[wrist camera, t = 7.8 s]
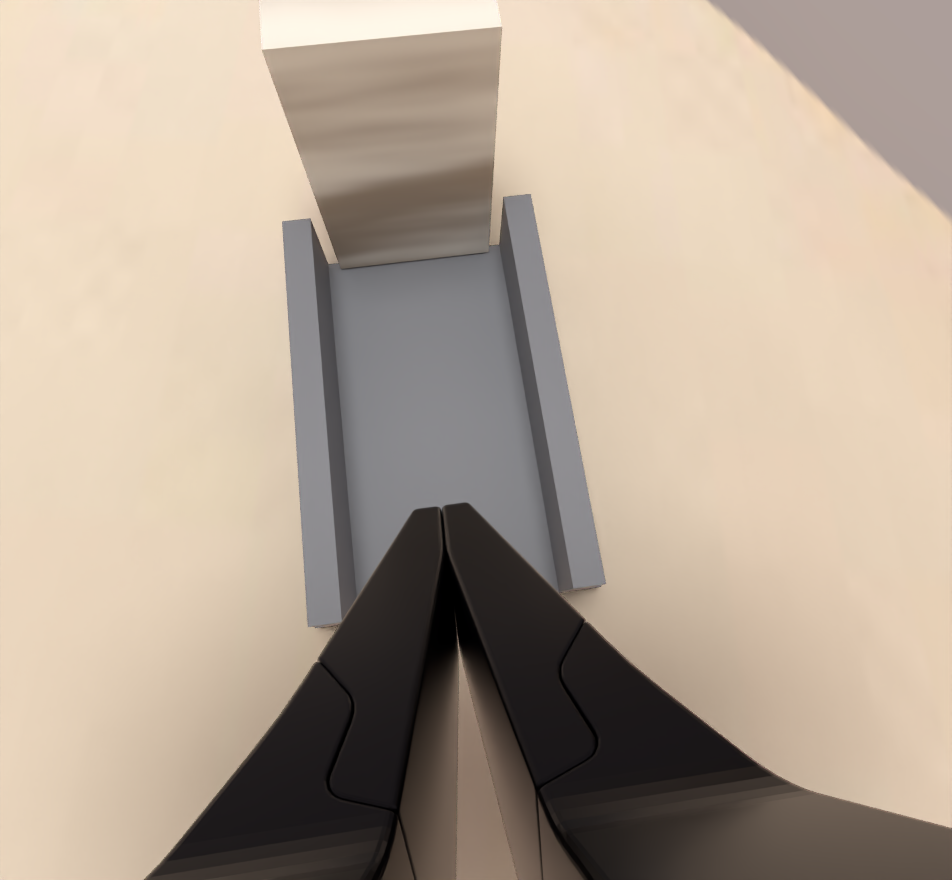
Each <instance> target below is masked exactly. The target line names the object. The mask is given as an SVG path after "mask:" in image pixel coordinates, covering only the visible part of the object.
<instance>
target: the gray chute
mask: <svg viewBox="0 0 952 880" xmlns="http://www.w3.org/2000/svg"><path fill="white" fill-rule="evenodd" d="M282 227H283V242H284V258H285V274H286V290H287V305H288V321H289V337H290V353H291V368H292V384H293V400H294V416H295V431H296V447H297V463H298V478H299V494H300V510H301V526H302V541H303V557H304V573H305V589H306V604H307V620H308V627H315V628H321V627H328V626H335V625H340V623H341V621H342V620H343V618H344V617H345V615H346V614H347V612H348V611H349V609H350V608H351V606H352V604H353V603H354V601H355V600H356V598H357V597H358V595H359V594H360V592H361V590H362V589H363V587H364V586H365V584H366V583H367V581H368V580H369V578H370V576H371V575H372V573H373V572H374V570H375V569H376V567H377V566H378V564H379V562H380V561H381V559H382V558H383V556H384V555H385V553H386V552H387V550H388V548H389V547H390V545H391V544H392V542H393V541H394V539H395V538H396V536H397V534H398V533H399V531H400V530H401V528H402V527H403V525H404V524H405V522H406V521H407V519H408V517H409V516H410V514H411V513H412V511H413V510H415V509H419V508H427V507H434V506H438V507H440V508H441V511H442V508H443V506H444V505H449V504H456V503H463V502H467V503H470V504H471V505H472V506H473V507H474V508H475V509H476V510H477V511H478V512H479V513H480V514H481V515H482V516H483V517H484V518H485V519H486V520H487V521H488V522H489V523H490V524H491V525H492V526H493V527H494V528H495V529H496V530H497V531H498V532H499V533H500V534H501V535H502V536H503V537H504V538H505V539H506V540H507V541H508V542H509V543H510V544H511V545H512V546H513V547H514V548H515V549H516V550H517V551H518V552H519V553H520V554H521V555H522V556H523V557H524V558H525V559H526V560H527V561H528V562H529V563H530V564H531V565H532V566H533V567H534V568H535V569H536V570H537V571H538V572H539V573H540V574H541V575H542V576H543V577H544V578H545V579H546V580H547V581H548V582H549V583H550V584H551V585H552V586H553V587H554V588H555V589H556V590H557V591H558V592H559V593H562V592H569V591H576V590H582V589H589V588H596V587H601V585H603V584H606V582H605V576H604V571H603V566H602V561H601V556H600V551H599V545H598V540H597V535H596V530H595V525H594V520H593V514H592V509H591V504H590V499H589V494H588V488H587V483H586V478H585V473H584V468H583V463H582V457H581V452H580V447H579V442H578V437H577V432H576V426H575V421H574V416H573V411H572V406H571V401H570V395H569V390H568V385H567V380H566V375H565V369H564V364H563V359H562V354H561V349H560V344H559V338H558V333H557V328H556V323H555V318H554V313H553V307H552V302H551V297H550V292H549V287H548V282H547V276H546V271H545V266H544V261H543V256H542V250H541V245H540V240H539V235H538V230H537V225H536V219H535V214H534V209H533V204H532V199H531V194H526V195H517V196H508V197H503V208H502V220H501V231H500V243H499V245H493V246H489V252H484V253H475V254H467V255H458V256H449V257H441V258H432V259H423V260H415V261H406V262H397V263H389V264H380V265H371V266H363V267H354V268H345V269H341V268H340V265H339V263H336V264H328V262H327V260H326V257H325V255H324V252H323V250H322V247H321V245H320V242H319V239H318V237H317V234H316V232H315V229H314V227H313V224H312V222H311V219H301V220H292V221H283V222H282Z"/></svg>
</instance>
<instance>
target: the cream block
mask: <svg viewBox="0 0 952 880" xmlns="http://www.w3.org/2000/svg"><path fill="white" fill-rule="evenodd" d="M259 11H260V28H261V45H262V52H263V55H264V57H265V60H266V63H267V66H268V68H269V71H270V74H271V77H272V79H273V82H274V85H275V88H276V91H277V93H278V96H279V99H280V102H281V104H282V107H283V110H284V113H285V116H286V118H287V121H288V124H289V127H290V129H291V132H292V135H293V138H294V140H295V143H296V146H297V149H298V152H299V154H300V157H301V160H302V163H303V165H304V168H305V171H306V174H307V177H308V179H309V182H310V185H311V188H312V190H313V193H314V196H315V199H316V201H317V204H318V207H319V210H320V213H321V215H322V218H323V221H324V224H325V226H326V229H327V232H328V235H329V238H330V240H331V243H332V246H333V249H334V251H335V254H336V257H337V260H338V262H339V265H340V268H341V269H345V268H354V267H363V266H371V265H380V264H389V263H397V262H406V261H415V260H423V259H432V258H441V257H449V256H458V255H467V254H475V253H484V252H489V236H490V219H491V203H492V186H493V169H494V152H495V136H496V119H497V102H498V85H499V68H500V52H501V35H502V24H501V19H500V14H499V9H498V4H497V0H259Z"/></svg>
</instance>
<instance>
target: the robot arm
mask: <svg viewBox="0 0 952 880" xmlns="http://www.w3.org/2000/svg"><path fill="white" fill-rule="evenodd" d="M456 627H457V628H456ZM457 634H458V637H457ZM458 640H459V647H460V653H461V657H462V662H463V666H464V670H465V674H466V678H467V682H468V686H469V690H470V694H471V698H472V701H473V705H474V709H475V713H476V717H477V721H478V725H479V729H480V733H481V737H482V741H483V745H484V748H485V752H486V756H487V760H488V764H489V768H490V772H491V776H492V780H493V784H494V788H495V792H496V795H497V799H498V803H499V807H500V811H501V815H502V819H503V823H504V827H505V831H506V835H507V839H508V843H509V846H510V850H511V854H512V858H513V862H514V866H515V870H516V874H517V878H518V880H952V828H949V827H945V826H942V825H938V824H934V823H930V822H926V821H923V820H919V819H915V818H911V817H907V816H903V815H900V814H896V813H892V812H888V811H884V810H880V809H877V808H873V807H869V806H865V805H861V804H858V803H854V802H850V801H846V800H842V799H839V798H835V797H831V796H827V795H823V794H820V793H816V792H813V791H810V790H807V789H804V788H802V787H800V786H797V785H795V784H793V783H791V782H789V781H787V780H785V779H783V778H781V777H779V776H778V775H776V774H774V773H773V772H771V771H770V770H768V769H766V768H765V767H763V766H762V765H760V764H759V763H757V762H756V761H755V760H753V759H752V758H751V757H749V756H748V755H746V754H745V753H744V752H743V751H741V750H740V749H739V748H737V747H736V746H735V745H734V744H732V743H731V742H730V741H729V740H727V739H726V738H725V737H723V736H722V735H721V734H720V733H718V732H717V731H716V730H714V729H713V728H712V727H711V726H709V725H708V724H707V723H705V722H704V721H703V720H702V719H700V718H699V717H698V716H697V715H695V714H694V713H693V712H691V711H690V710H689V709H688V708H686V707H685V706H684V705H682V704H681V703H680V702H679V701H677V700H676V699H675V698H673V697H672V696H671V695H670V694H668V693H667V692H666V691H665V690H663V689H662V688H661V687H660V686H658V685H657V684H656V683H655V682H653V681H652V680H651V679H650V678H649V677H647V676H646V675H645V674H644V673H643V672H641V671H640V670H639V669H638V668H637V667H635V666H634V665H633V664H632V663H630V662H629V661H628V660H627V659H626V658H625V657H624V656H623V655H622V654H621V653H620V652H619V651H618V650H617V649H616V648H614V647H613V646H612V645H611V644H610V643H609V642H608V641H607V640H606V639H605V638H604V637H603V636H602V635H601V634H600V633H599V632H598V631H597V630H596V629H595V628H594V627H593V626H592V625H591V624H590V623H588V622H586V620H585V618H584V617H583V616H582V615H581V614H580V613H579V612H578V611H577V610H576V609H575V608H574V607H573V606H572V605H571V604H570V603H569V602H568V601H567V600H566V599H565V598H564V597H563V596H562V595H561V594H560V593H559V592H558V591H557V590H556V589H555V588H554V587H553V586H552V585H551V584H550V583H549V582H548V581H547V580H546V579H545V578H544V577H543V576H542V575H541V574H540V573H539V572H538V571H537V570H536V569H535V568H534V567H533V566H532V565H531V564H530V563H529V562H528V561H527V560H526V559H525V558H524V557H523V556H522V555H521V554H520V553H519V552H518V551H517V550H516V549H515V548H514V547H513V546H512V545H511V544H510V543H509V542H508V541H507V540H506V539H505V538H504V537H503V536H502V535H501V534H500V533H499V532H498V531H497V530H496V529H495V528H494V527H493V526H492V525H491V524H490V523H489V522H488V521H487V520H486V519H485V518H484V517H483V516H482V515H481V514H480V513H479V512H478V511H477V510H476V509H475V508H474V507H473V506H472V505H471V504H470V503H467V502H463V503H456V504H449V505H444V506H443V508H442V511H441V508H440V507H438V506H434V507H427V508H419V509H415V510H413V511H412V513H411V514H410V516H409V517H408V519H407V521H406V522H405V524H404V525H403V527H402V528H401V530H400V531H399V533H398V534H397V536H396V538H395V539H394V541H393V542H392V544H391V545H390V547H389V548H388V550H387V552H386V553H385V555H384V556H383V558H382V559H381V561H380V562H379V564H378V566H377V567H376V569H375V570H374V572H373V573H372V575H371V576H370V578H369V580H368V581H367V583H366V584H365V586H364V587H363V589H362V590H361V592H360V594H359V595H358V597H357V598H356V600H355V601H354V603H353V604H352V606H351V608H350V609H349V611H348V612H347V614H346V615H345V617H344V618H343V620H342V621H341V623H340V625H339V626H338V628H337V629H336V631H335V632H334V634H333V635H332V637H331V639H330V640H329V642H328V643H327V645H326V646H325V648H324V649H323V651H322V653H321V654H320V656H319V657H318V662H315V663H314V664H313V666H312V668H311V669H310V671H309V672H308V674H307V675H306V677H305V679H304V680H303V682H302V683H301V685H300V686H299V688H298V689H297V690H296V692H295V693H294V695H293V696H292V698H291V699H290V701H289V702H288V704H287V705H286V706H285V708H284V709H283V711H282V712H281V714H280V715H279V716H278V718H277V719H276V720H275V722H274V723H273V724H272V726H271V727H270V728H269V729H268V731H267V732H266V733H265V735H264V736H263V737H262V739H261V740H260V741H259V742H258V744H257V745H256V746H255V748H254V749H253V750H252V752H251V753H250V754H249V755H248V756H247V758H246V759H245V760H244V761H243V763H242V764H241V765H240V766H239V768H238V769H237V770H236V771H235V773H234V774H233V775H232V776H231V777H230V779H229V780H228V781H227V782H226V784H225V785H224V786H223V787H222V789H221V790H220V791H219V792H218V793H217V795H216V796H215V797H214V798H213V800H212V801H211V802H210V803H209V805H208V806H207V807H206V808H205V810H204V811H203V812H202V813H201V814H200V816H199V817H198V818H197V819H196V821H195V822H194V823H193V824H192V826H191V827H190V828H189V829H188V830H187V832H186V833H185V834H184V835H183V837H182V838H181V839H180V840H179V842H178V843H177V844H176V845H175V846H174V848H173V849H172V850H171V851H170V852H169V853H168V855H167V856H166V857H165V858H164V859H163V860H162V861H161V863H160V864H159V865H158V866H157V867H156V868H155V869H154V870H153V871H152V872H151V873H150V874H149V875H148V876H147V877H146V878H145V879H144V880H456V844H457V772H458V700H459V649H458Z"/></svg>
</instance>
